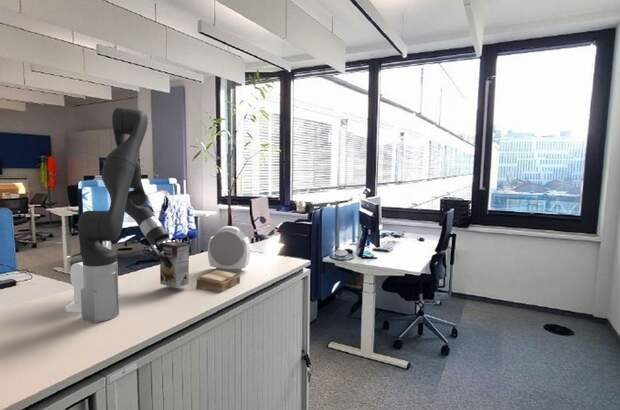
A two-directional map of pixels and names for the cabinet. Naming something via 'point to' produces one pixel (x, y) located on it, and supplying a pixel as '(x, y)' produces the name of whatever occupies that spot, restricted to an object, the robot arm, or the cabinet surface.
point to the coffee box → (175, 264)
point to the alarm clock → (229, 250)
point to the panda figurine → (76, 285)
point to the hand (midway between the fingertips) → (177, 264)
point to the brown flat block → (218, 280)
